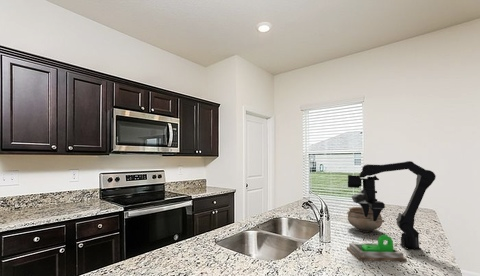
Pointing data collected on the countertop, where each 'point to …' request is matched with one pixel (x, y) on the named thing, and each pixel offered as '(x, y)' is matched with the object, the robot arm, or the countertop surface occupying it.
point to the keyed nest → (374, 253)
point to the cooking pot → (363, 220)
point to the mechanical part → (380, 245)
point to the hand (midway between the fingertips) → (370, 218)
